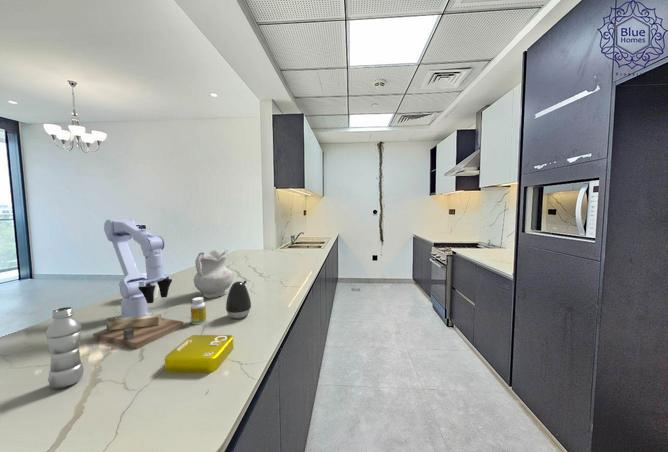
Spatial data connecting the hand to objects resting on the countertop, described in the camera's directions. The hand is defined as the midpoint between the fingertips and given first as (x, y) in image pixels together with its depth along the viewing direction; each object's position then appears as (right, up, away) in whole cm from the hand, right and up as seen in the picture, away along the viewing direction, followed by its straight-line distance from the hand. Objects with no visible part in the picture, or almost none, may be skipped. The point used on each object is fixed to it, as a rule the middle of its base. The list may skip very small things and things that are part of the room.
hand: (157, 300), depth 108 cm
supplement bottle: (+16, -10, +2) cm, 19 cm away
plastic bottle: (+1, -12, -38) cm, 40 cm away
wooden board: (-1, -10, -8) cm, 13 cm away
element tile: (+31, -11, -26) cm, 42 cm away
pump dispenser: (+31, -9, +7) cm, 33 cm away
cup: (-26, -8, +33) cm, 43 cm away
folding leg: (-4, -8, -7) cm, 11 cm away
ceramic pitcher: (+6, -8, +37) cm, 38 cm away
